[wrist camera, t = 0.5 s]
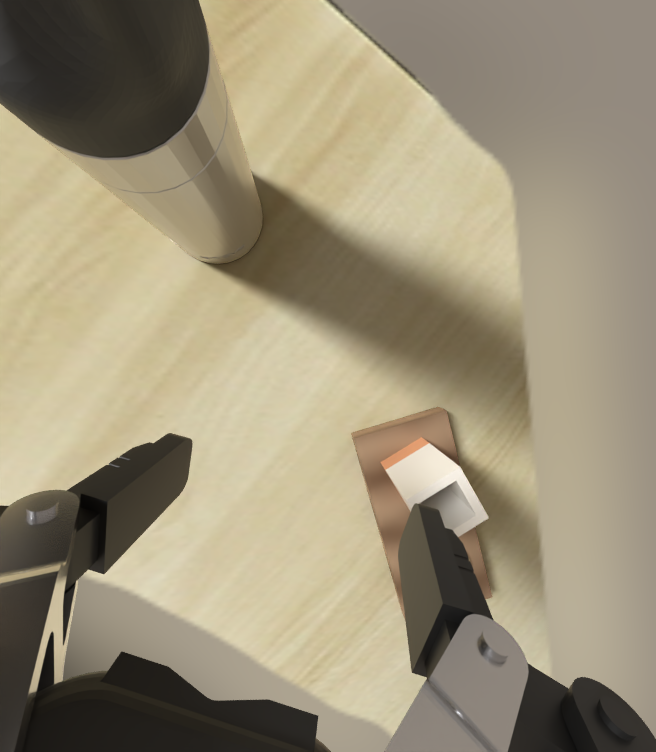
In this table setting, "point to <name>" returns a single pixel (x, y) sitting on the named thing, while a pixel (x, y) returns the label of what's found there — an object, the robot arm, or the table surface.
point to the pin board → (384, 495)
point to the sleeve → (435, 485)
